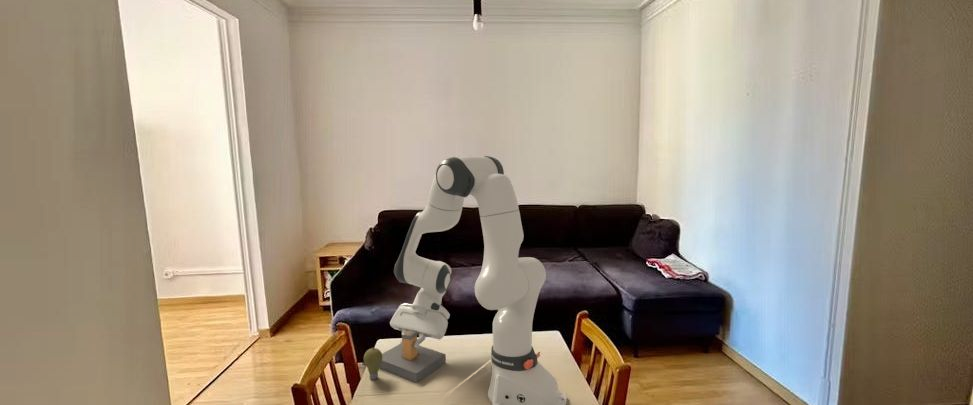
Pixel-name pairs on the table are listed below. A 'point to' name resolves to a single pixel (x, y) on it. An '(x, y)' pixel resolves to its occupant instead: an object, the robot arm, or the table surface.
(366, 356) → the light bulb
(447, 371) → the table surface
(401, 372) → the grey block with hole
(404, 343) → the plug
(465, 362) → the table surface
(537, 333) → the table surface
